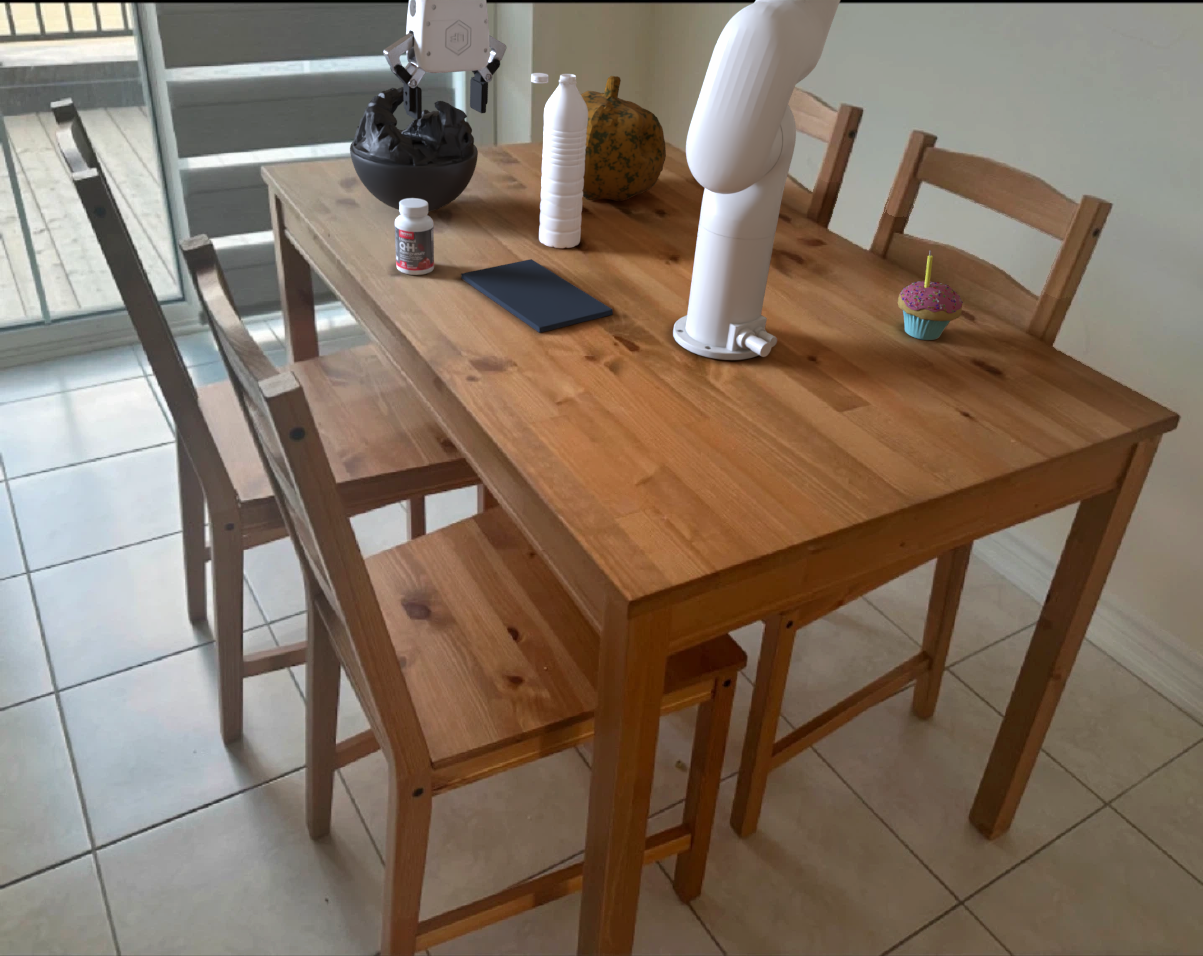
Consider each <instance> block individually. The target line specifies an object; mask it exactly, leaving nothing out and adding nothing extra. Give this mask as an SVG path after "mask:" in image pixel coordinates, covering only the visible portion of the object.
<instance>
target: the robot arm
mask: <svg viewBox="0 0 1203 956" xmlns="http://www.w3.org/2000/svg"><path fill="white" fill-rule="evenodd" d="M840 2H841V0H755V1H754V2H752V3H750V4H748V5H747V6H745V7H743V8H742V9H740V10H739V11H738V12H736V13H735V14H734V15H733V16H732V17H731V18H730V19H729V20H728V22H726V24H725V26H724V28H722V31H721V33H720V35H719V37H718V39H717V41H716V44H715V45H714V48H713V51H712V54H711V57H710V59H709V60H710V61H709V63H708V66H707V70H706V73H705V76H704V79H703V83H702V86H701V90H700V91H699V96H698V99H697V102H696V105H695V108H694V111H693V114H692V117H691V121H690V125H689V128H688V132H687V136H686V143H685V156H686V157H685V158H686V162H687V165H688V168H689V171H690V173H691V175H692V176H693V178H694V179H695V181H696V182H697V183H698V184H699V185H700V186H701V187H703V188H704V190H703V195H702V200H701V207H700V214H699V222H698V230H697V237H696V244H695V252H694V260H693V266H692V267H693V268H692V274H691V284H690V290H689V298H688V306H687V312H686V313H687V314H686V315H684V316H681V317H680V318H678V320H676V321H675V323H674V325H673V330H672V337H673V339H674V341H675V342H676V343H677V344H678V345H679V346H680V347H682V348H683V349H685V350H687V351H688V352H690V353H693V354H696V355H698V356H702V357H705V358H709V359H714V360H722V361H723V360H724V361H742V360H747V359H748V360H749V359H753V358H755V357H758V356H760V357H762V358H765V357H767V356H768V355H769V354H770V353H771V351H772V348H773V347H775V346H776V345H777V343H778V338H777V337H776V336H775V335H773V334H772V333H769V332H768V331H767V330H766V325H767V320H768V318H767V317H766V316H764V315H762V313H763V308H764V307H763V306H764V301H765V294H766V288H767V284H768V277H769V272H770V266H771V260H772V254H773V249H774V242H775V237H776V232H777V228H778V227H777V226H778V223H779V222H778V221H779V215H780V211H781V205H782V200H783V196H784V192H785V188H786V187H785V186H786V183H787V179H788V175H789V172H790V169H791V168H790V167H791V164H792V160H793V156H794V152H795V147H796V139H797V124H796V118H795V116H794V113H793V110H792V108H791V107H790V105H789V103H790V100H791V97H792V95H793V92H794V90H795V87H796V85H797V84H799V83H800V82H801V81H803V80H805V78H807V77H808V76H809V75H810V74H811V73H812V71H814V69H815V68H816V67H817V65H818V63H819V61H820V59H821V56H822V54H823V51H824V48H825V45H826V41H827V39H828V36H829V32H830V30H831V27H832V24H833V21H834V19H835V16H836V13H837V10H838V8H839V5H840ZM405 31H406V32H405V35H404V36H402V37H401V38H399V39H397V40H396V41H394V42H393V43H392V44H390V45H388V46H387V47H385V48H384V49H383V57H384V58H385V60H386V63H387V64H388V65H389V69H390V71H391V72H392V74H394V76H396V77H397V79H398V80H399V82H400V83H402V84H403V85H402V87H403V92H404V101H403V108H404V111H405V113H406V115H407V116H409V117H411V118H412V119H414V120H418V119H421V118H422V111H423V105H422V104H423V97H422V96H423V95H422V94H423V89H422V88H421V87H420V86H419V83H420V82H421V80H422V79H423V78H424V76H425V74H426V73H429V74H445V73H446V74H447V73H460V72H472V74H473V75H474V76H471V77H470V79H469V80H470V81H469V82H470V83H469V108H471V109H472V110H474V111H475V112H478V113H480V114H486V113H487V104H488V100H489V83H490V82H492V80H493V75H494V74H495V73H496V72H497V71H498V69H499V68H500V67H501V61H502V60H503V57H504V56H505V53H506V51H507V45H506V44H505V43H503V42H502V41H500V40H499V39H497V38H495V37H494V36H492V35H491V34H490V23H489V12H488V5H487V0H408V7H407V15H406V29H405ZM405 53H406V59H407V62H408V63H407V64H406V65H405V66H403V64H402V62H401V56H402V55H403V54H405Z"/></svg>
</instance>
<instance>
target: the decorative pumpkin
mask: <svg viewBox="0 0 1203 956" xmlns="http://www.w3.org/2000/svg"><path fill="white" fill-rule="evenodd" d="M621 82H622V80H621V77H620V76H617V75H616V76H614V75H610V76H609V77H608V78H607V79H606V83H605V88H604V92H599V91H596V90H586V91H584V92H583V93H580V94H581V96H582V98H583V99H584V101H585V103H586V105H587V109H588V123H587V133H586V134H587V137H586V149H585V151H586V153H585V172H584V177H583V178H584V187H583V190H582V191H583V198H585V199H586V200H587V201H597V200H611V201H615V202H623V201H626V200H629V199H630V198H633V197H635V196H637V195H640V194H643V193H645V192H647V191H649V190H650V189H652V188H653V187H654V186H655V185H656V184H657V182H658V180H659V178H660V175H661V173H662V172H663V170H664V164H665V162H666V157H667V149H666V140H665V135H664V134H665V133H664V129H663V126H662V124H661V122H660V120H659V118H658V117H657V116H656V115H655V113H653V112H652V111H650V110H648V109H646V108H644V107H642V106H641V105H639V104H637V103H636V102H633V101H630V100H625V99H622V98H619V92H620V86H621Z"/></svg>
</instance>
